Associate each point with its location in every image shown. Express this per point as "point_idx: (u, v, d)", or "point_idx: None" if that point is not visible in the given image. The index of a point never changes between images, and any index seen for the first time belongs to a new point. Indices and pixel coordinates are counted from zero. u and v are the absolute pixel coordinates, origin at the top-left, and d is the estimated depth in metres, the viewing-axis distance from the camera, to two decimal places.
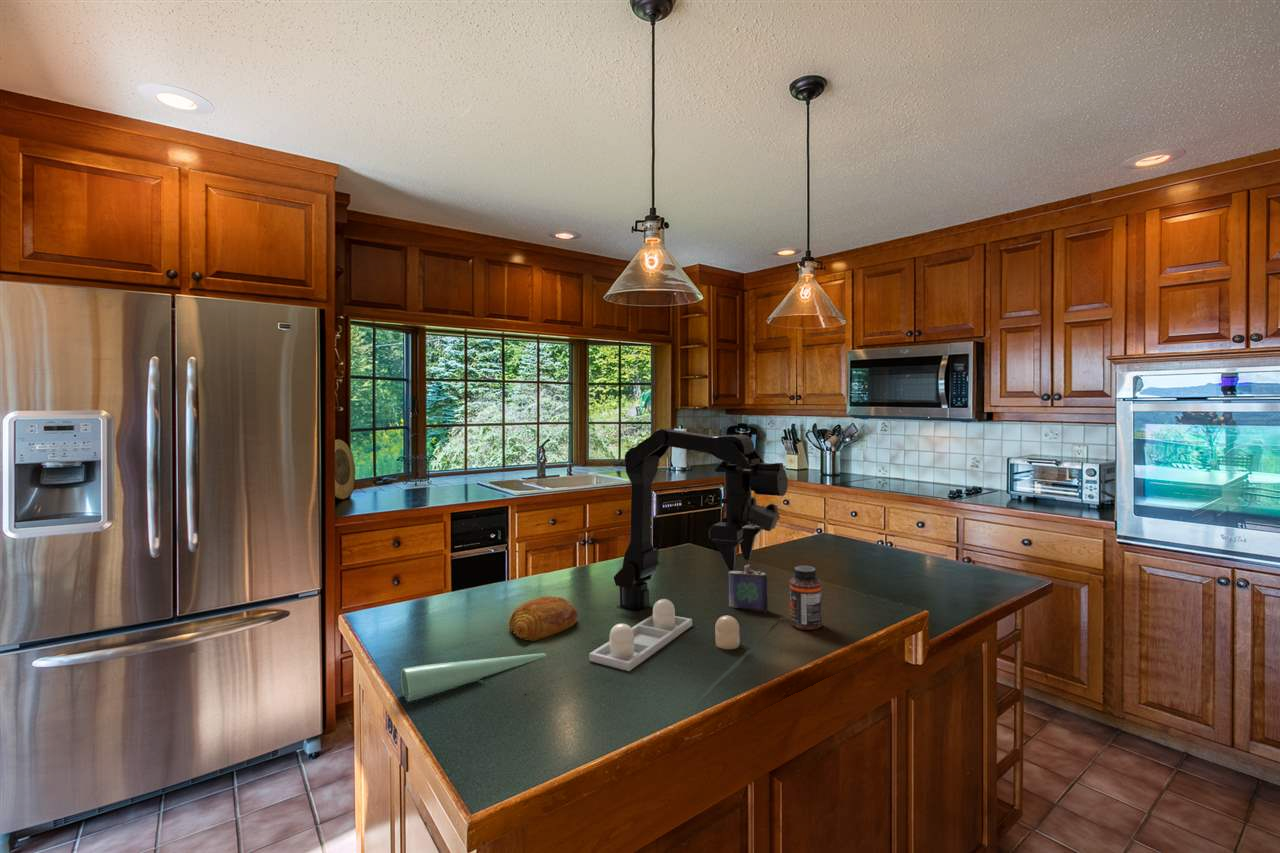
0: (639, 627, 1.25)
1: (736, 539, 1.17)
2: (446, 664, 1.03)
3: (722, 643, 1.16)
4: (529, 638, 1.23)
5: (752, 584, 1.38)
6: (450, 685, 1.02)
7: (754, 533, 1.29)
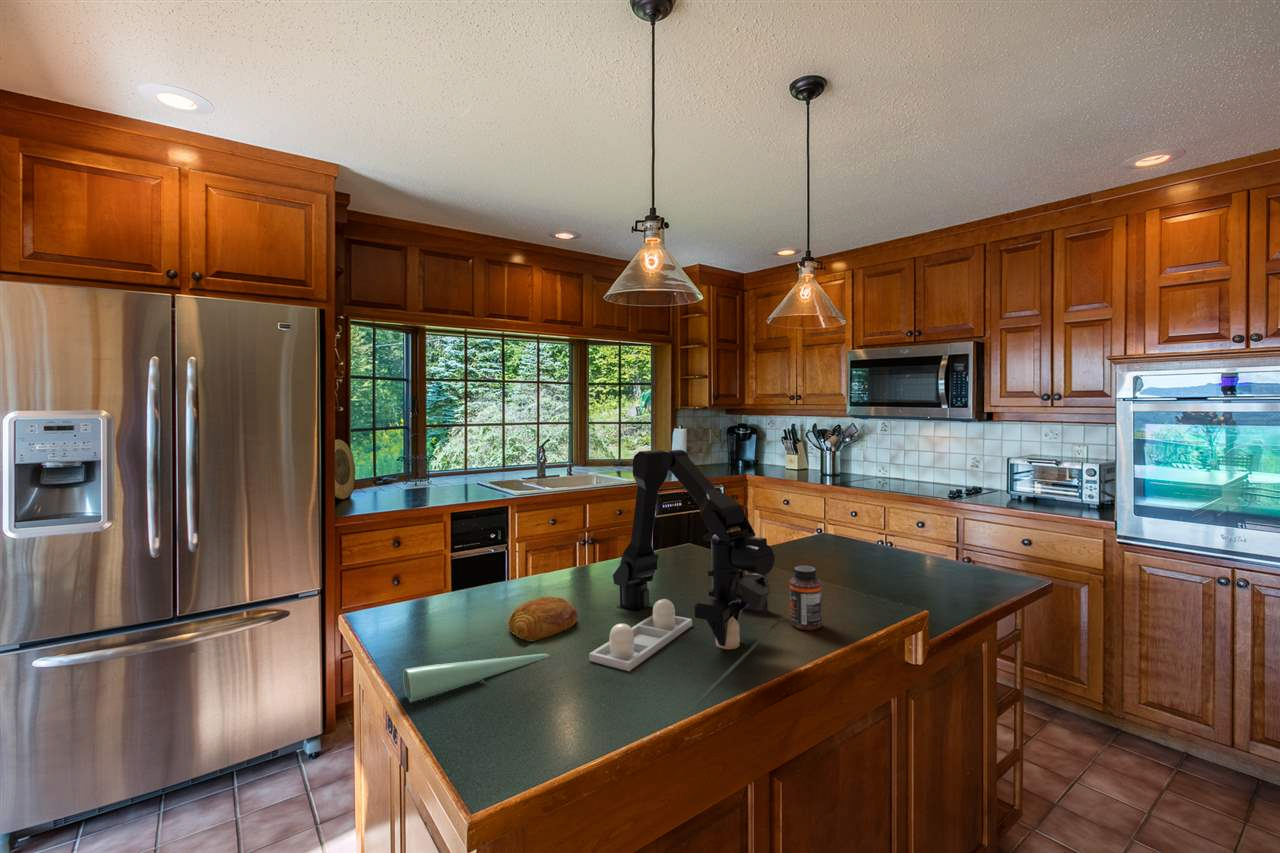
0: (639, 627, 1.25)
1: (722, 620, 1.09)
2: (448, 664, 1.03)
3: None
4: (528, 638, 1.23)
5: None
6: (453, 686, 1.02)
7: (740, 608, 1.19)
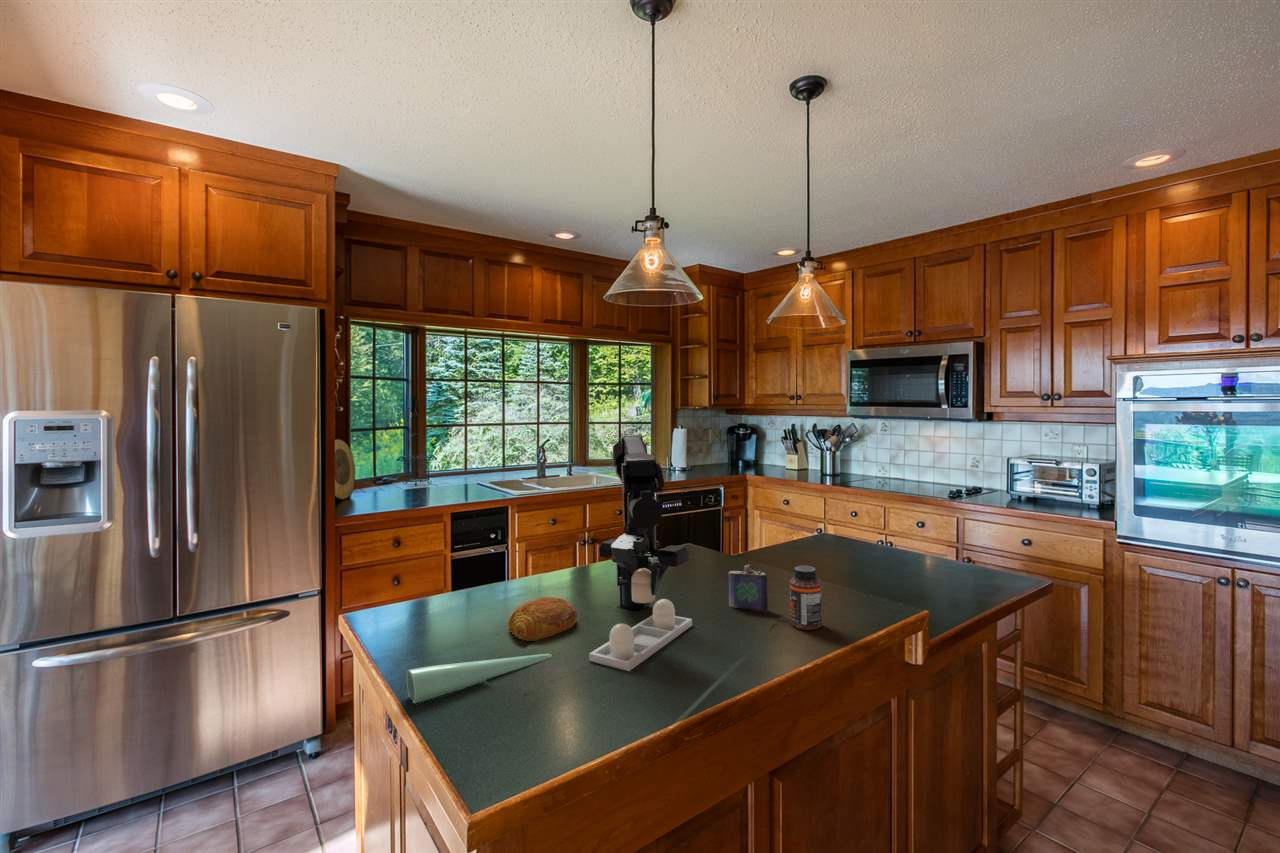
0: (639, 627, 1.25)
1: (599, 555, 1.22)
2: (452, 665, 1.02)
3: None
4: (528, 639, 1.22)
5: (752, 584, 1.38)
6: (456, 686, 1.01)
7: None
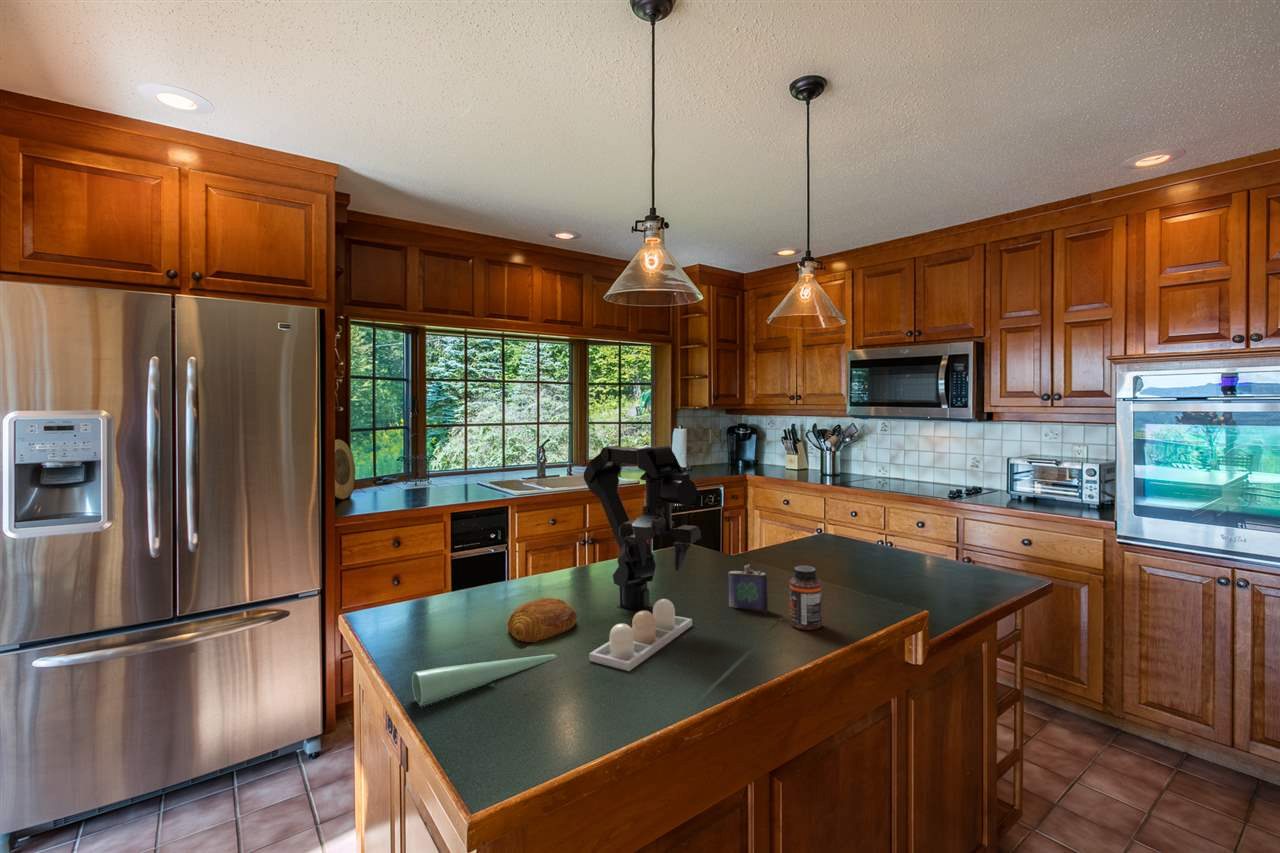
0: None
1: (620, 534, 1.36)
2: (458, 667, 1.02)
3: None
4: (527, 640, 1.22)
5: (752, 584, 1.38)
6: (462, 688, 1.00)
7: None
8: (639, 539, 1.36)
